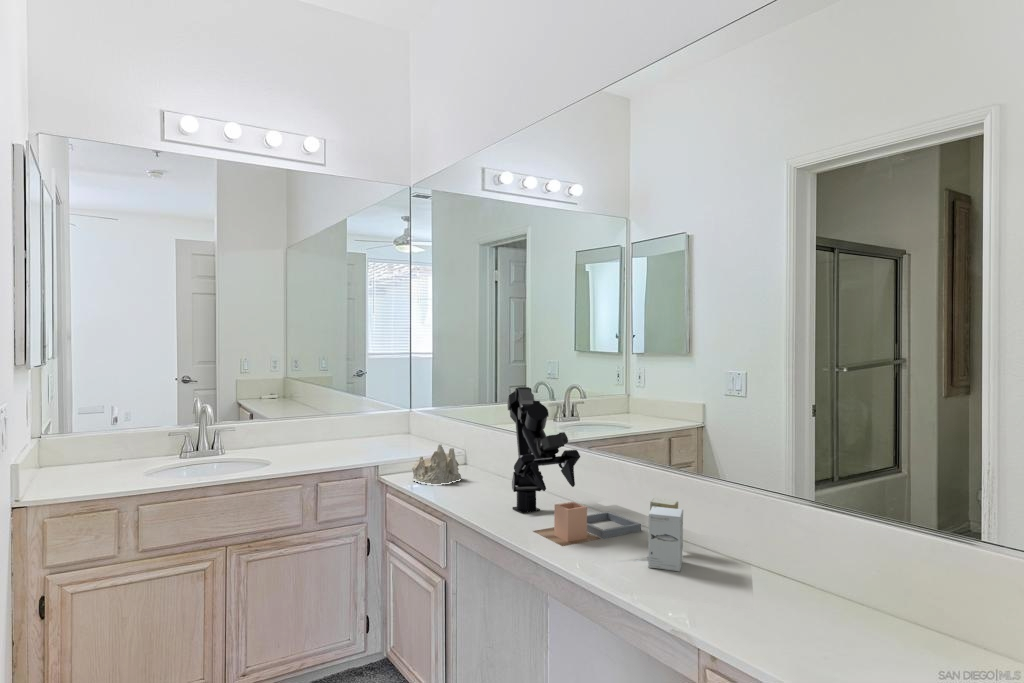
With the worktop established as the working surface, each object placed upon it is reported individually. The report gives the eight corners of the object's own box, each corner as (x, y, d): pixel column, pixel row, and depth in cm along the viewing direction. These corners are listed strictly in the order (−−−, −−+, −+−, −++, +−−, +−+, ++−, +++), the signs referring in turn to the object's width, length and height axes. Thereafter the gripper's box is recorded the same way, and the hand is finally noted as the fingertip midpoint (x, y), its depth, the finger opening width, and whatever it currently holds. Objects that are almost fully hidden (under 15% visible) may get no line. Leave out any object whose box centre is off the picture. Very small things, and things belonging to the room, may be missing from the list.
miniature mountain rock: (467, 480, 231) (465, 440, 231) (433, 489, 219) (430, 447, 219) (441, 476, 242) (438, 438, 242) (407, 485, 230) (404, 444, 230)
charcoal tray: (570, 529, 170) (570, 517, 170) (608, 522, 176) (608, 511, 176) (602, 544, 158) (602, 531, 158) (641, 536, 164) (641, 523, 164)
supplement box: (647, 568, 141) (647, 513, 141) (651, 557, 148) (651, 505, 148) (680, 572, 138) (680, 516, 138) (683, 561, 145) (683, 508, 145)
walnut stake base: (532, 536, 164) (532, 508, 164) (569, 529, 170) (569, 502, 170) (562, 552, 151) (562, 521, 152) (601, 544, 157) (601, 515, 157)
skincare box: (648, 550, 153) (648, 501, 153) (653, 545, 157) (653, 497, 157) (674, 554, 150) (674, 504, 150) (678, 549, 154) (678, 500, 154)
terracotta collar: (551, 533, 161) (551, 503, 161) (570, 530, 164) (570, 500, 164) (567, 541, 155) (567, 510, 155) (586, 538, 158) (587, 506, 158)
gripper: (519, 424, 163) (541, 474, 154) (576, 420, 173) (600, 466, 163) (504, 450, 170) (525, 498, 160) (560, 444, 179) (583, 490, 170)
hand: (559, 488), depth 163 cm, fingers open, 9 cm apart
